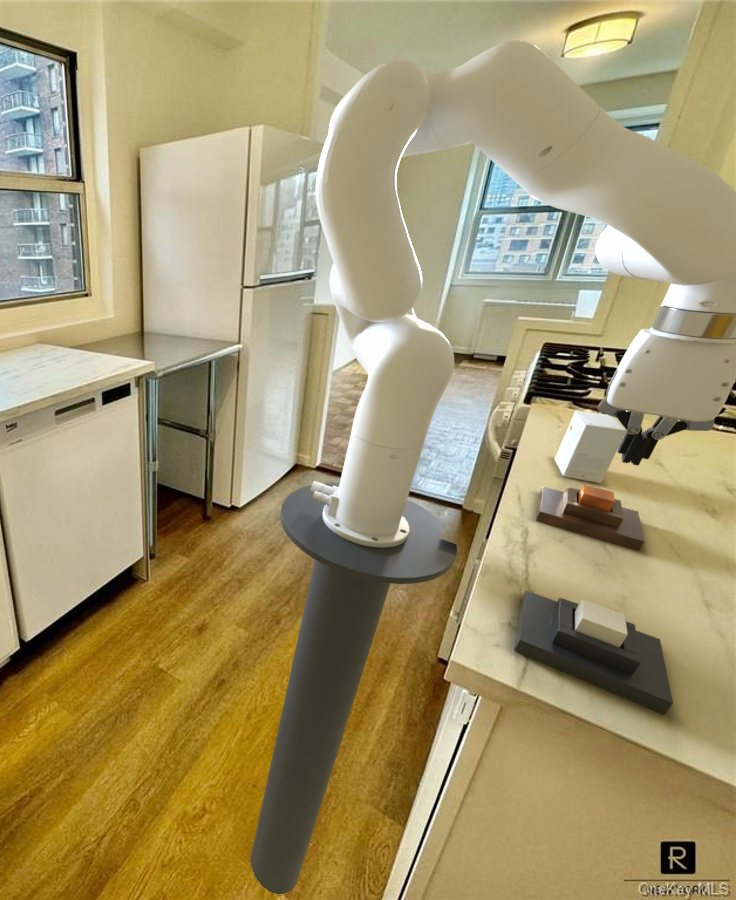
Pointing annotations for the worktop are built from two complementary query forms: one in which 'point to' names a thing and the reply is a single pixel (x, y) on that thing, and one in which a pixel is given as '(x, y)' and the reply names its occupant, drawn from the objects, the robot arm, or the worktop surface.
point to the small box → (589, 446)
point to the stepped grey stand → (593, 652)
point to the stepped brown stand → (590, 518)
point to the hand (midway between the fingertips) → (629, 460)
